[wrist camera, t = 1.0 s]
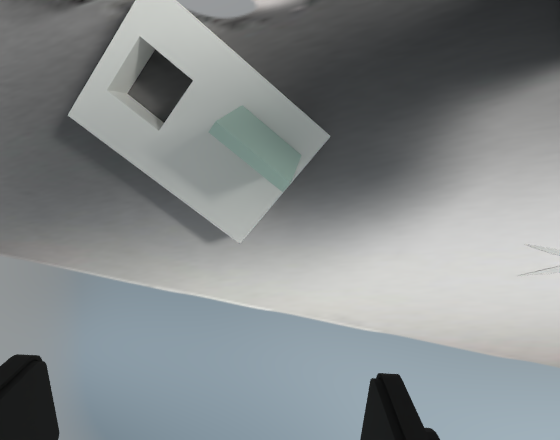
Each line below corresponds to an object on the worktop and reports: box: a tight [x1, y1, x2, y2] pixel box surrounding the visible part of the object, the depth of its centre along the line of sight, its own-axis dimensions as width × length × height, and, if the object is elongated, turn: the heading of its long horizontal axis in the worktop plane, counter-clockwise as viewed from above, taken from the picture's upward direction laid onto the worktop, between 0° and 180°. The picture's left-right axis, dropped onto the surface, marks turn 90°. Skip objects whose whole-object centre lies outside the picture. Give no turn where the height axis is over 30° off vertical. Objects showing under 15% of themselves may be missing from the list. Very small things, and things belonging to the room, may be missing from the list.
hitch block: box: [68, 0, 330, 244], centre depth 32 cm, size 14×20×4 cm
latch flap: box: [209, 105, 301, 192], centre depth 27 cm, size 7×7×1 cm
